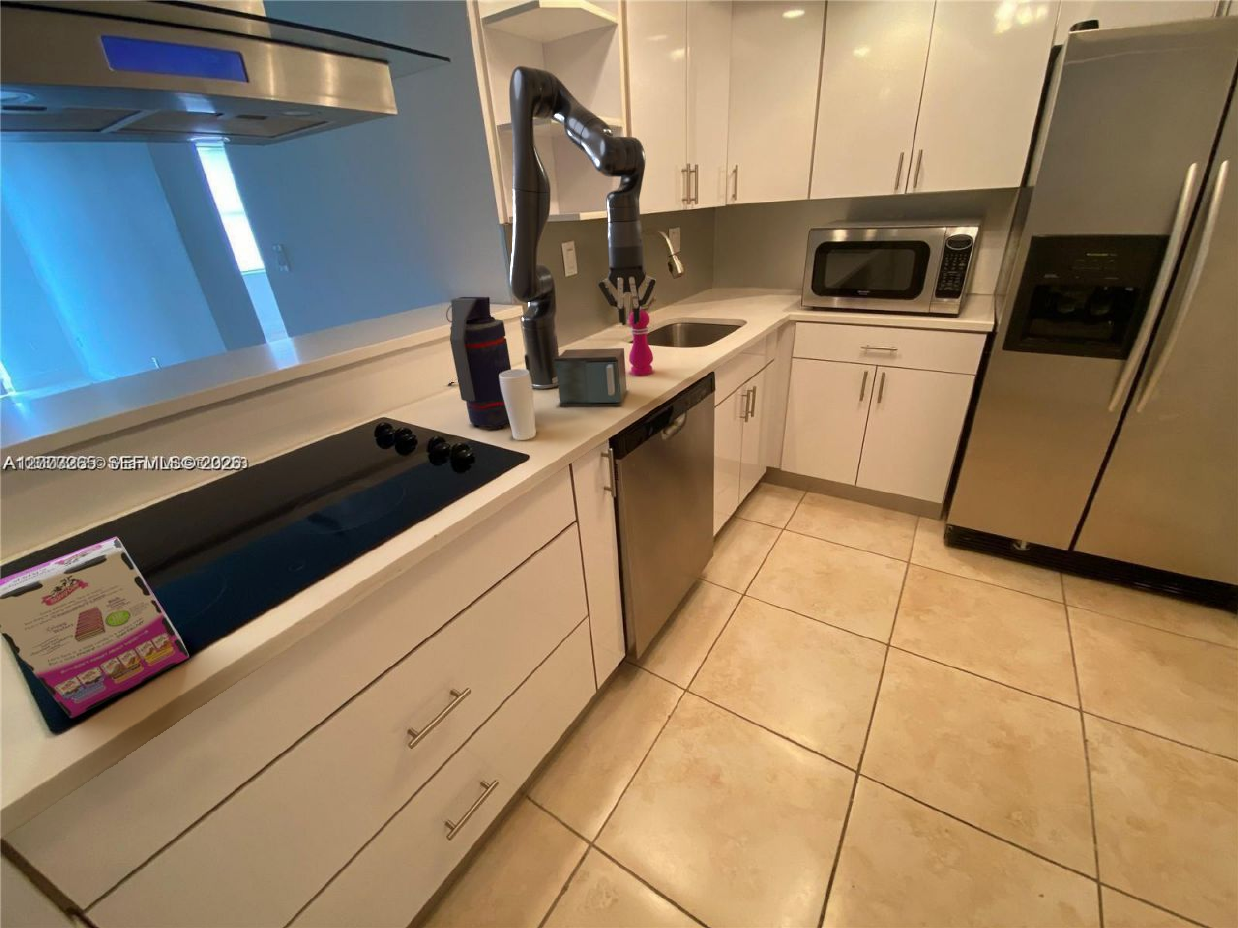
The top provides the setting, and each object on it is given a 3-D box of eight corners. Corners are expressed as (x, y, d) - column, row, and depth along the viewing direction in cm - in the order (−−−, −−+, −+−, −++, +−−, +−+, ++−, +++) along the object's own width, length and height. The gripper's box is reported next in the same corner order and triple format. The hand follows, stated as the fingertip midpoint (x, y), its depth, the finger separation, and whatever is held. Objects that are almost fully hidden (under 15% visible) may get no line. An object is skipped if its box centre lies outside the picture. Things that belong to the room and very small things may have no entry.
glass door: (586, 406, 132) (582, 366, 127) (589, 401, 135) (585, 362, 130) (617, 406, 130) (614, 366, 126) (619, 401, 133) (617, 361, 129)
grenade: (491, 411, 137) (468, 292, 123) (528, 415, 132) (509, 292, 118) (455, 431, 126) (426, 303, 112) (494, 436, 121) (468, 303, 107)
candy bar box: (182, 639, 67) (119, 533, 60) (191, 658, 64) (126, 548, 57) (65, 697, 60) (-24, 584, 53) (69, 721, 57) (-25, 605, 49)
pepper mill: (654, 368, 161) (651, 302, 152) (653, 375, 154) (650, 306, 145) (630, 369, 162) (626, 303, 153) (628, 376, 155) (624, 308, 146)
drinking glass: (513, 431, 123) (502, 369, 116) (541, 429, 123) (532, 367, 116) (506, 443, 117) (495, 378, 110) (536, 441, 116) (526, 376, 110)
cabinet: (559, 406, 136) (553, 358, 130) (570, 391, 146) (565, 346, 141) (619, 406, 133) (616, 357, 128) (626, 391, 143) (623, 345, 138)
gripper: (658, 240, 116) (661, 319, 124) (597, 244, 118) (604, 322, 126) (655, 243, 109) (658, 326, 117) (590, 247, 112) (597, 328, 119)
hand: (629, 324), depth 121 cm, fingers closed
